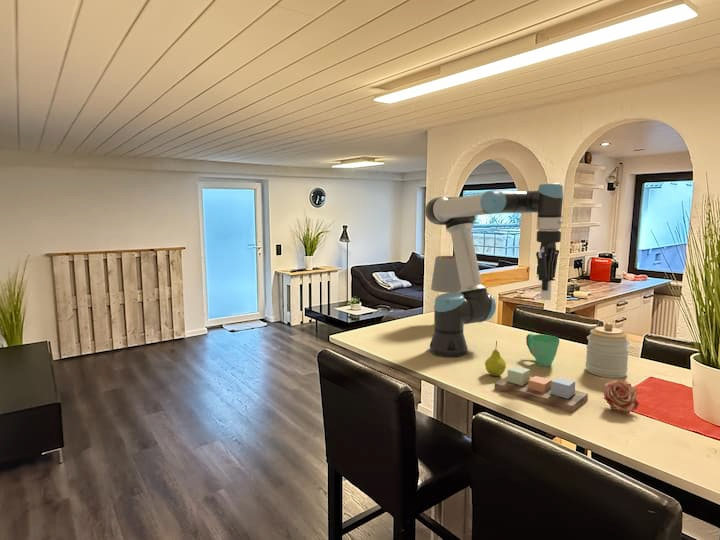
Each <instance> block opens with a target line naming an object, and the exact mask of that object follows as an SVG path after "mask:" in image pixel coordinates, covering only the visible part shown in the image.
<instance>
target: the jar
mask: <svg viewBox="0 0 720 540" xmlns="http://www.w3.org/2000/svg"><path fill="white" fill-rule="evenodd" d="M589 333H590V334H589V335H588V336H586V339H587V340H588V343H587V345H586V346H585V347H586V357H585V359H586V361H585V370H586V371H587V372H588V373H589V374H592V375H594V376H597V377H598V376H599V377H603V378H607V379H619V378H621V379H622V378H625V377H626V376H627V373H628V371H629V370H628V359H629V353H630V350H629V349H628V345H630V342H631V341H630V340H628V339H627V338H626V337H628V334H627V333H626V332H624V331H623V330H622V329H620V328H616V327H614V325H613V324H612V323H611V322H607V323H605V324H604V326H596V327H594V328H592V329H590V331H589Z"/></svg>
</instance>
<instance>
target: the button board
mask: <svg viewBox="0 0 720 540" xmlns="http://www.w3.org/2000/svg"><path fill="white" fill-rule="evenodd" d="M531 378H532V377H530V379H531ZM528 383H529V382H528ZM528 383H526V384H524V385H523V386H521V385H517V384H514V383H510V382H507V376H505V377H503V378H502V379H500V380H497V381H496V382H494V390H497V391H500V392H503V393H506V394H510V395H513V396H516V397H518V398H519V397H520V398H523V399H525V400H529V401H532V402H535V401H536V403H539V404H542V405H544V406H545V405H546V406H548V407H552V408H555V409H559V410H563V411H565V412H568V413H574V412H575V411H576V410H577V409H578V408H580V407H581V406H583V404H584V403H586V402H587V401H588V400H589V399H588V396H589V393H586V392H584V391H580V390H576V389H575V394H574V395H573V396H571V397H570V398H569V399H566V398H563V397H559V396H556V395H552V394H551V390H549V391H548V392H546V393H542V392H538V391H535V390H531V389H528Z"/></svg>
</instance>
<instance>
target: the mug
mask: <svg viewBox="0 0 720 540" xmlns="http://www.w3.org/2000/svg"><path fill="white" fill-rule="evenodd" d="M525 338H526V339H525V340H526V346H527V348H528V349H529V350H528V351H529V352H530V354H531V355H532V357H534V360H535V363H536V364H537V365H538V366H541V367H551V366H552V364H553V362H554V360H555V357H556V355H557V352H558V349H559V345H560V338H559V337H558V336H554V335H550V334H541V333H540V334H534V333H528V334H527V335H526V337H525Z"/></svg>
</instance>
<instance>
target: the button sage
mask: <svg viewBox="0 0 720 540" xmlns="http://www.w3.org/2000/svg"><path fill="white" fill-rule="evenodd" d="M530 374H531V369H529V368H525V367H523V366H517V365H514V366H512V367H510V368H508V369H507V376H506V377H507V382H510V383H514V385H517V386H521V387H523V385H524V384H526V383H528V382H529V380H530V378H531V377H530V376H531V375H530Z"/></svg>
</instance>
